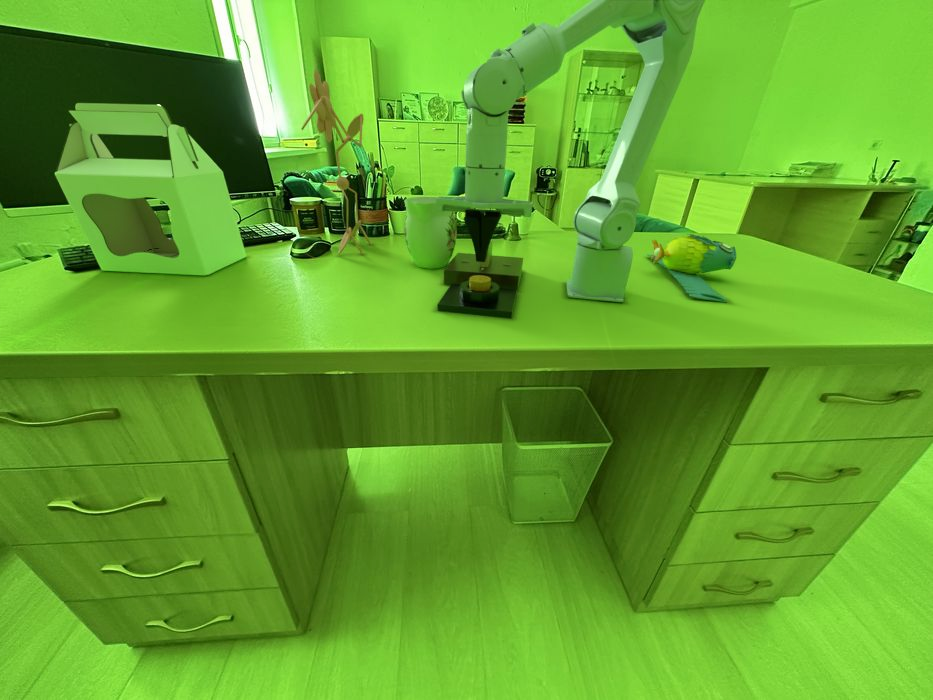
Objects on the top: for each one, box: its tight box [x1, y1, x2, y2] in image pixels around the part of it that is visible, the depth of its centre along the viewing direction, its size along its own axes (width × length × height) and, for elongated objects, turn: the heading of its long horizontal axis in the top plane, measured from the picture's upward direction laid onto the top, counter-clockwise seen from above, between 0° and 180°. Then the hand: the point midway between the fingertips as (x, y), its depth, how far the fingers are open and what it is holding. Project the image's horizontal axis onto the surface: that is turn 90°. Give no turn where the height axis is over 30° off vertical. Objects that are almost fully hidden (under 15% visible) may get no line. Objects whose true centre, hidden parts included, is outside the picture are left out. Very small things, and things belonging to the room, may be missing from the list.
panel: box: [443, 252, 524, 292], centre depth 73 cm, size 14×12×3 cm
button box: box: [437, 281, 518, 319], centre depth 62 cm, size 12×10×3 cm
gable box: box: [54, 102, 247, 277], centre depth 70 cm, size 22×13×28 cm, turn 86°
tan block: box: [480, 238, 494, 267], centre depth 71 cm, size 6×2×4 cm, turn 169°
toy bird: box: [646, 233, 737, 303], centre depth 75 cm, size 28×9×15 cm
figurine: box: [300, 69, 379, 259], centre depth 81 cm, size 15×26×35 cm, turn 0°
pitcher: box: [403, 196, 458, 270], centre depth 78 cm, size 11×18×14 cm, turn 174°
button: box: [469, 275, 491, 291], centre depth 61 cm, size 4×4×2 cm
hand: (481, 260), depth 60 cm, fingers closed
